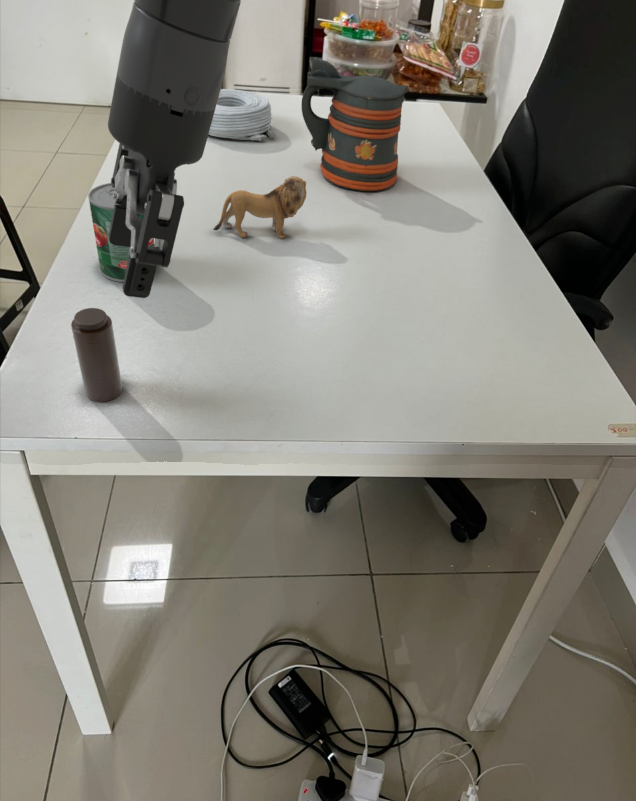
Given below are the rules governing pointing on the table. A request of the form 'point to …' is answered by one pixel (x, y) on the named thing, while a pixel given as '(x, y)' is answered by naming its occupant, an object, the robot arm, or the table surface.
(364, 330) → the table surface
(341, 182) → the beer stein
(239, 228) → the lion figurine
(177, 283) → the table surface
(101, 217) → the canned tomato
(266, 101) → the cable
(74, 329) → the pepper mill
